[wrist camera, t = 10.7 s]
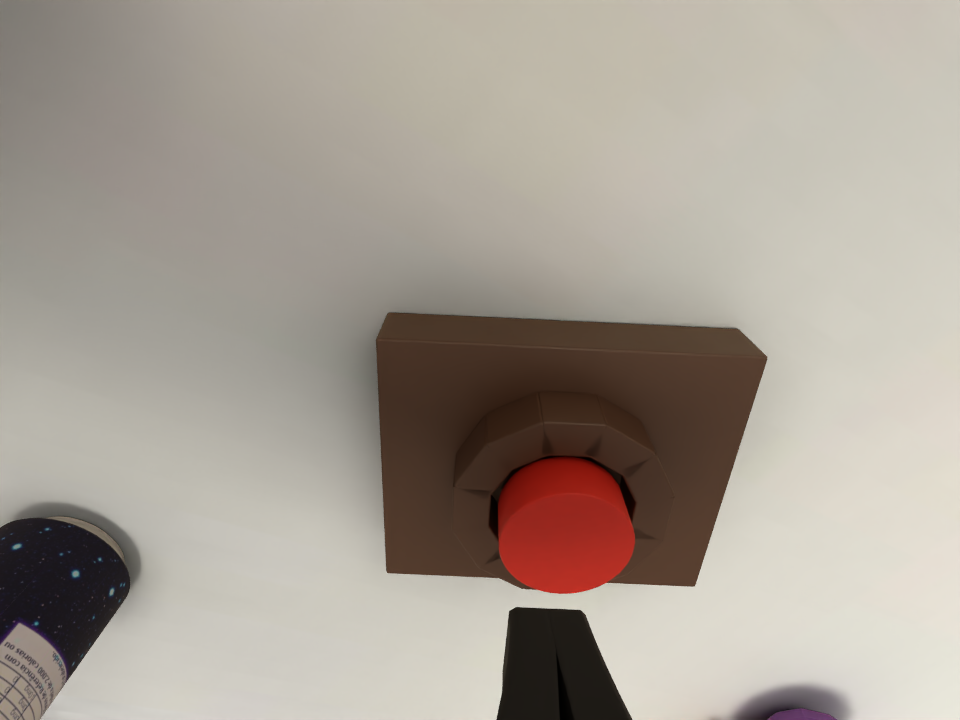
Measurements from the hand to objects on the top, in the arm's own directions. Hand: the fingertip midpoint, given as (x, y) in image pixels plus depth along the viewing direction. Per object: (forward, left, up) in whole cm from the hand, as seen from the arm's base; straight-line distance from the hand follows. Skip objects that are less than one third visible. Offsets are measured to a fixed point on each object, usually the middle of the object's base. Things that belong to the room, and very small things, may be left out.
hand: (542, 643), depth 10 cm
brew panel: (+1, -3, -10) cm, 11 cm away
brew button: (+1, -2, -7) cm, 7 cm away
